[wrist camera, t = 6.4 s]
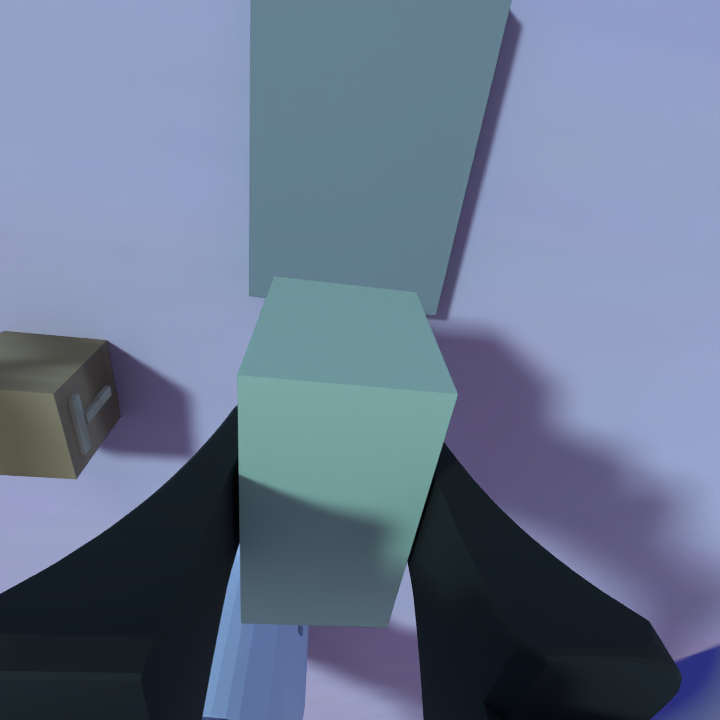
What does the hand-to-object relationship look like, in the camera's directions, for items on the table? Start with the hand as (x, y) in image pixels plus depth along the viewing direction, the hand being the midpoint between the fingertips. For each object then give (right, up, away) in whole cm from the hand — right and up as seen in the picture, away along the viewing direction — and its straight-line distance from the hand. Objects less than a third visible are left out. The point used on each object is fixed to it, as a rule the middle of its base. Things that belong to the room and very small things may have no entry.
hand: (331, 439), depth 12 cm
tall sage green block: (0, +1, +2) cm, 2 cm away
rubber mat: (+1, +10, +4) cm, 11 cm away
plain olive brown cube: (-13, +1, +8) cm, 16 cm away
